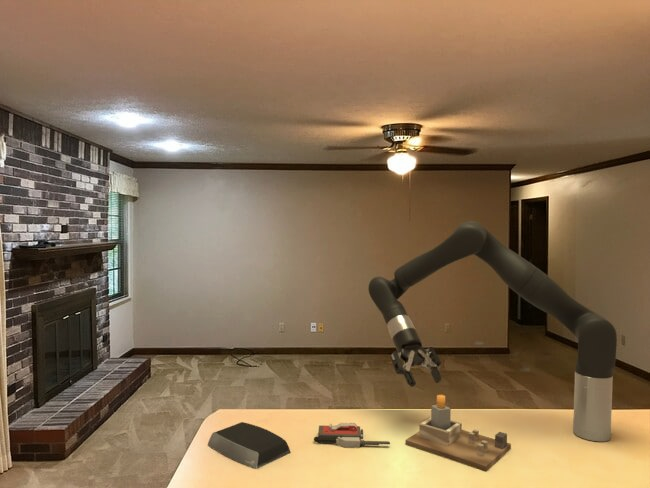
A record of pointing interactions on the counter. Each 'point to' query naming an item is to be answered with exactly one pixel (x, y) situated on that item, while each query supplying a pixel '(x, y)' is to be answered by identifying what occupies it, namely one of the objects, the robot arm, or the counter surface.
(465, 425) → the counter surface
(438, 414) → the connector plug
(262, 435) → the external hard drive
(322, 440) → the walkie-talkie
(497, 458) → the board
